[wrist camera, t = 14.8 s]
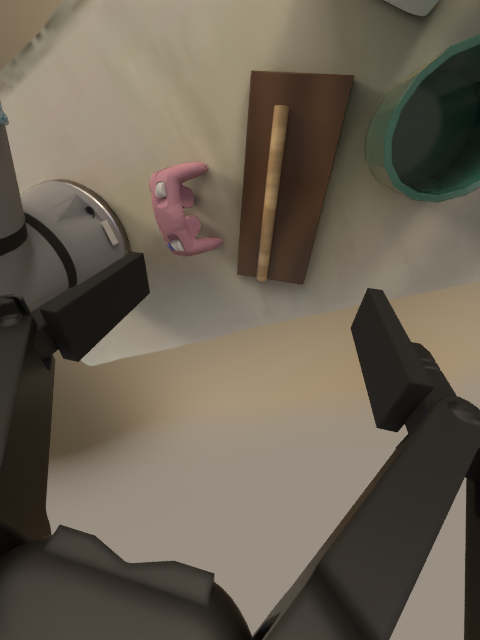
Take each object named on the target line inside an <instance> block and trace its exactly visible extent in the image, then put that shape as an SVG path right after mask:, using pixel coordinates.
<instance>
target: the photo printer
mask: <svg viewBox="0 0 480 640" xmlns="http://www.w3.org/2000/svg"><path fill="white" fill-rule="evenodd" d="M384 1H386V2H388V3H390V4H392V5H394V6H396V7H398V8H400V9H402V10H404V11H406V12H408V13H411V14H414V15H418V16H426V15H427V14H428V13H429V12H430V11H431V10H432V9H433V7H434V6H435V5H436V4H437V3H438V2H439V1H440V0H384Z"/></svg>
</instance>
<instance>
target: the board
mask: <svg viewBox="0 0 480 640" xmlns="http://www.w3.org/2000/svg"><path fill="white" fill-rule="evenodd" d="M353 80H354V75H335V74H313V73H292V72H270V71H251V80H250V94H249V109H248V124H247V138H246V153H245V168H244V182H243V197H242V211H241V226H240V241H239V255H238V270H237V274H240V275H246V276H252V277H257V267H258V258H259V248H260V238H261V229H262V219H263V209H264V200H265V190H266V181H267V171H268V161H269V152H270V142H271V132H272V123H273V113H274V106H276V105H283V106H289V115H288V123H287V130H286V138H285V145H284V153H283V161H282V168H281V176H280V183H279V191H278V199H277V206H276V214H275V221H274V229H273V237H272V244H271V252H270V259H269V267H268V275H267V279H271V280H277V281H283V282H290V283H296V284H302V285H303V283H304V279H305V275H306V271H307V267H308V263H309V259H310V255H311V251H312V247H313V242H314V238H315V234H316V230H317V226H318V222H319V218H320V214H321V210H322V206H323V202H324V198H325V194H326V190H327V186H328V182H329V178H330V174H331V169H332V165H333V161H334V157H335V153H336V149H337V145H338V141H339V137H340V133H341V129H342V125H343V121H344V117H345V113H346V109H347V105H348V101H349V96H350V92H351V88H352V84H353Z"/></svg>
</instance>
